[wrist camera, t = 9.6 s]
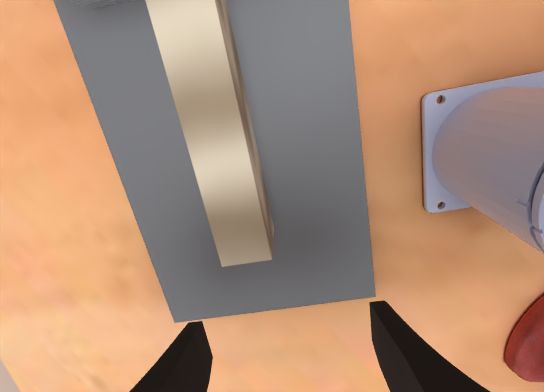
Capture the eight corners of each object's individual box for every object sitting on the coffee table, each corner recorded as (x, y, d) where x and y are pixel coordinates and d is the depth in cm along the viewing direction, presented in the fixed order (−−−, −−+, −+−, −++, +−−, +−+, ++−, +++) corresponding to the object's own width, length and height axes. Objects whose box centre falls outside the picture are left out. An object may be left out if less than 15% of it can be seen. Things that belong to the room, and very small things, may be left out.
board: (326, -192, 15) (329, -211, 14) (372, 288, 24) (375, 296, 23) (26, -104, 16) (9, -116, 15) (178, 313, 26) (174, 322, 25)
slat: (151, -73, 16) (110, -123, 12) (207, -89, 15) (183, -144, 12) (232, 235, 22) (221, 266, 18) (273, 228, 21) (272, 259, 18)
